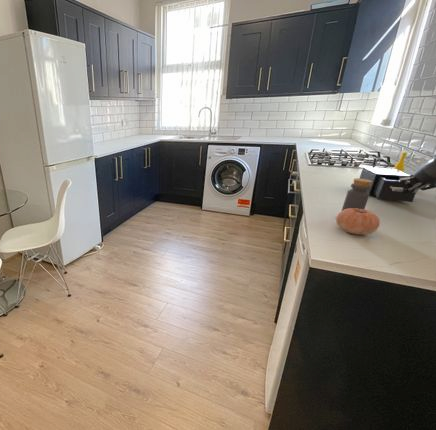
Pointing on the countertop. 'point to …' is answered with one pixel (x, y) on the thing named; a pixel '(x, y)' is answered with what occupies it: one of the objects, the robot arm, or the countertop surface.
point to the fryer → (375, 172)
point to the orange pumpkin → (357, 221)
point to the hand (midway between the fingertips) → (405, 192)
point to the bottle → (357, 194)
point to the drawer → (391, 189)
